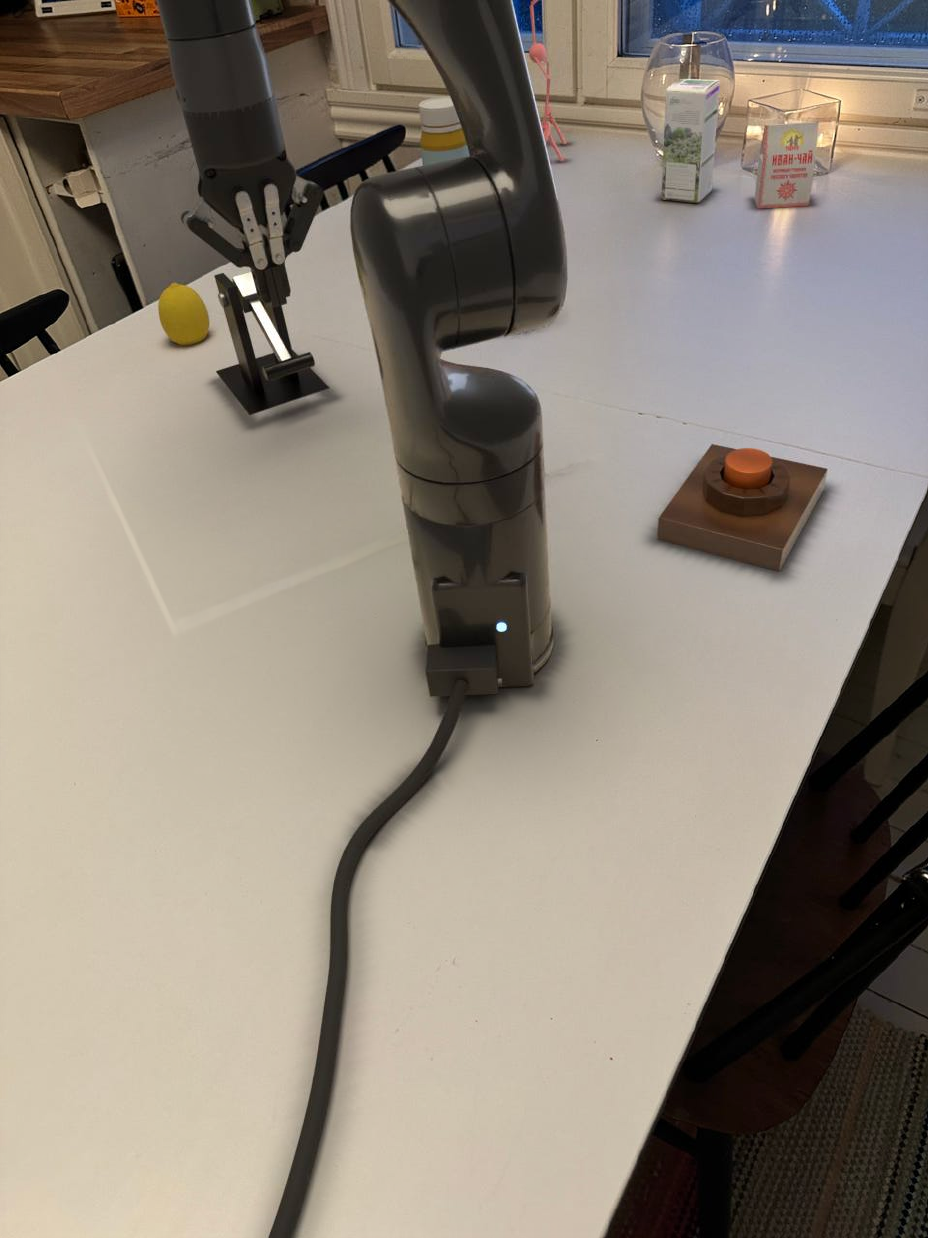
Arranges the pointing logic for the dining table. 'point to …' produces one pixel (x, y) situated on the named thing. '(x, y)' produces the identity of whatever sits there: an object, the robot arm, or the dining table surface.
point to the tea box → (786, 165)
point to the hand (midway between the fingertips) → (276, 303)
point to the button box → (742, 511)
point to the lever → (269, 332)
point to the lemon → (183, 315)
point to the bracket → (259, 359)
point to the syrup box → (689, 139)
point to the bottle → (441, 131)
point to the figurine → (537, 56)
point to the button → (747, 468)
